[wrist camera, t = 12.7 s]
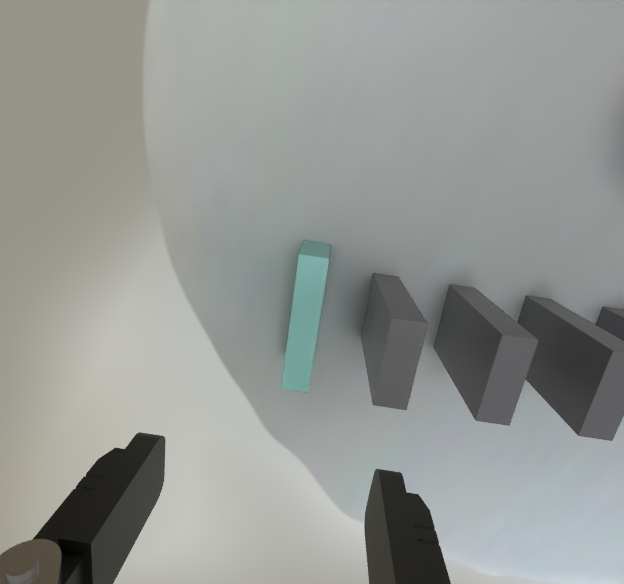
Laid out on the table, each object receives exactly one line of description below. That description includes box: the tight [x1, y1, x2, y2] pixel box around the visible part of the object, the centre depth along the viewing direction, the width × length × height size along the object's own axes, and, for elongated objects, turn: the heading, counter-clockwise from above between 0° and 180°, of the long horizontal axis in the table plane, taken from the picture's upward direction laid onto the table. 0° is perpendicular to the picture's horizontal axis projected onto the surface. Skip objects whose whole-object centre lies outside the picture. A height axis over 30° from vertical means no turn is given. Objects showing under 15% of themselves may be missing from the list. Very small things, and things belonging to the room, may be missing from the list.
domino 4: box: [518, 296, 624, 441], centre depth 24 cm, size 2×5×9 cm, turn 172°
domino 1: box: [281, 240, 330, 392], centre depth 26 cm, size 2×5×9 cm
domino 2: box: [361, 273, 428, 410], centre depth 24 cm, size 2×5×9 cm, turn 172°
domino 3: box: [434, 285, 539, 425], centre depth 24 cm, size 2×5×9 cm, turn 172°
